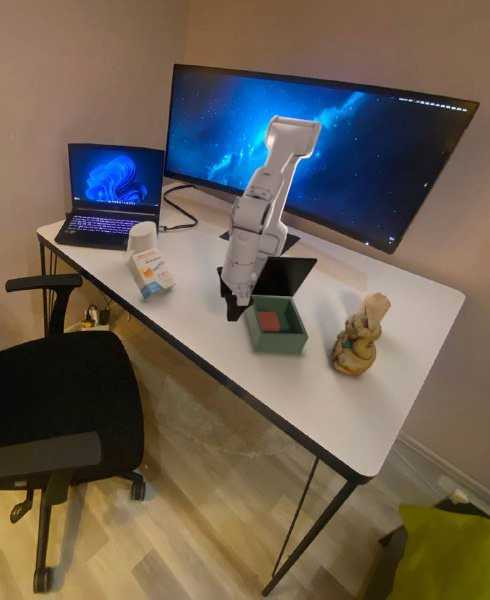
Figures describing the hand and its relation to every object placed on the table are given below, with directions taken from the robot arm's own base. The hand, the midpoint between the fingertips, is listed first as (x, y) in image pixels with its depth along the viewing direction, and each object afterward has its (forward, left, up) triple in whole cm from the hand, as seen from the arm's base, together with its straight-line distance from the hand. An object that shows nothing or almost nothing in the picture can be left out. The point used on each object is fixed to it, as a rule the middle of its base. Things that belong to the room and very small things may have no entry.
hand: (228, 308), depth 77 cm
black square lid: (-14, +4, +3) cm, 15 cm away
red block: (-7, +8, -7) cm, 13 cm away
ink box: (-1, -21, -8) cm, 22 cm away
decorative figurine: (-15, +24, -11) cm, 30 cm away
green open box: (-11, +7, -10) cm, 17 cm away
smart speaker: (-8, -35, -11) cm, 37 cm away
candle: (-30, +22, -11) cm, 39 cm away
